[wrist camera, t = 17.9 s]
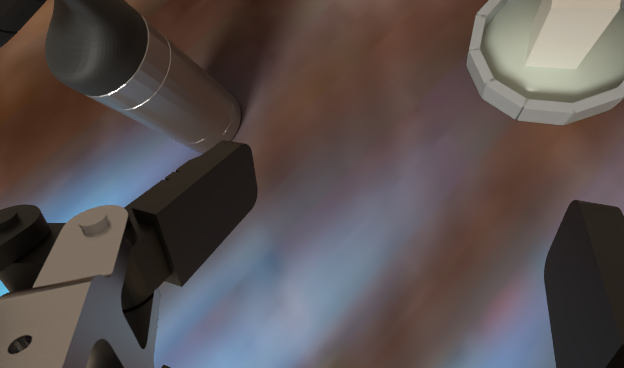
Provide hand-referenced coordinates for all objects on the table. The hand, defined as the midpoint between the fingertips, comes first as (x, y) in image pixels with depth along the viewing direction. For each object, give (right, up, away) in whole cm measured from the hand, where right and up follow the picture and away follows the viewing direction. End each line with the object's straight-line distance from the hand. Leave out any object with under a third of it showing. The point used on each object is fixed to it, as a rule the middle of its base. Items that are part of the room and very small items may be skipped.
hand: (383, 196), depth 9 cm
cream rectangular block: (+23, +14, +28) cm, 39 cm away
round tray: (+23, +14, +29) cm, 40 cm away
